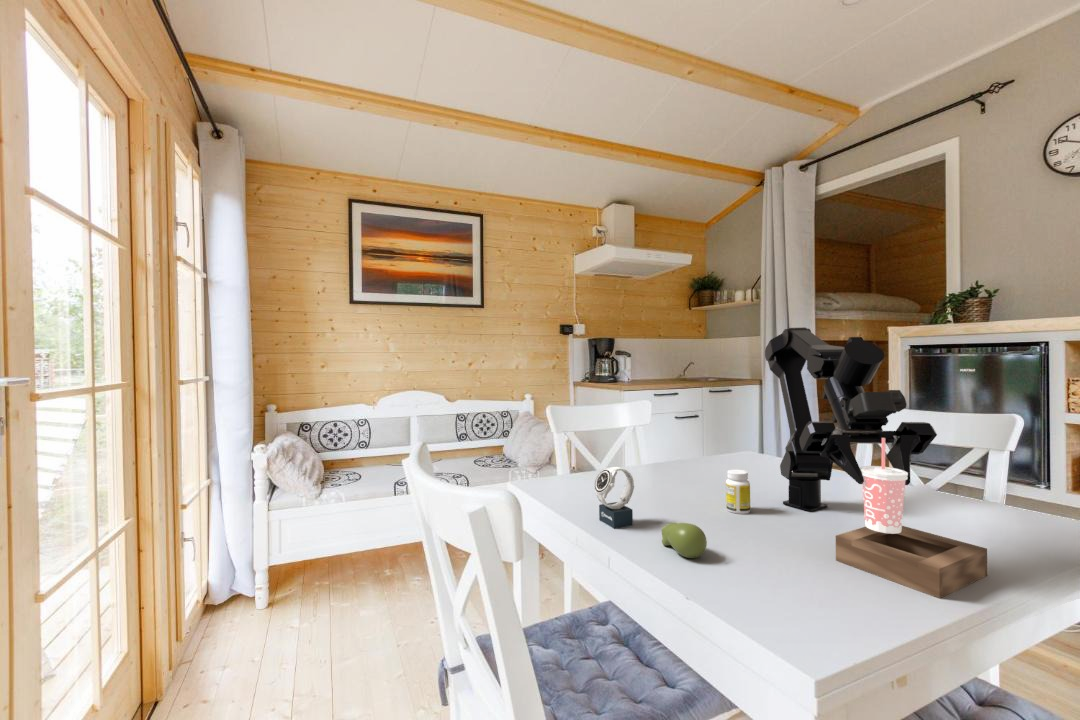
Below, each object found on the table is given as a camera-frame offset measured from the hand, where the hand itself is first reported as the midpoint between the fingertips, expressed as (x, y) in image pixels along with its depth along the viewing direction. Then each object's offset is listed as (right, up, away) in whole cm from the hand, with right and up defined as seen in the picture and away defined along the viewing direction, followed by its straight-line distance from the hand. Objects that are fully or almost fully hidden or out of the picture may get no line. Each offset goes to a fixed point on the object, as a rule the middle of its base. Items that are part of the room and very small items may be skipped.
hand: (884, 483), depth 74 cm
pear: (-29, -14, +8) cm, 33 cm away
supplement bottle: (-11, -13, +29) cm, 34 cm away
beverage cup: (0, -7, 0) cm, 7 cm away
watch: (-38, -14, +23) cm, 46 cm away
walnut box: (+4, -13, 0) cm, 14 cm away
